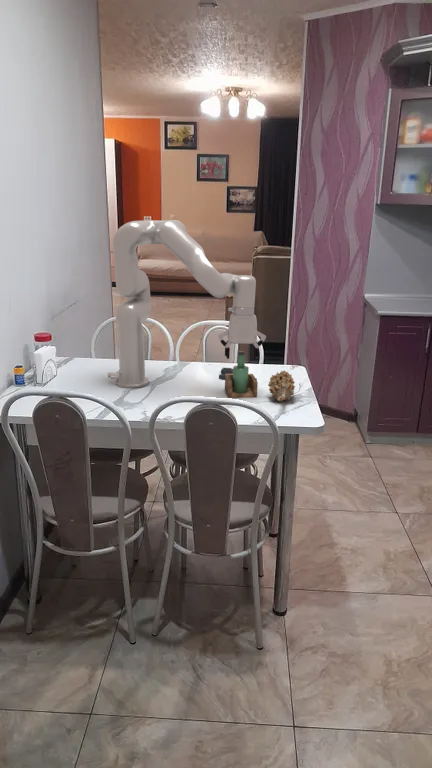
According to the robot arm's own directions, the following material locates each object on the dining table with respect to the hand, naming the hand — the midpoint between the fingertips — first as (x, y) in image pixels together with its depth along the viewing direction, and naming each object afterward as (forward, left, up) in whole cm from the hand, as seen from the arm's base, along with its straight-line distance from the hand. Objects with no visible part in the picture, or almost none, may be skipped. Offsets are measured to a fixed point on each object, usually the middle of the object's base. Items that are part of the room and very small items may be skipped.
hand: (240, 357), depth 199 cm
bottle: (0, 0, -13) cm, 13 cm away
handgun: (+3, +20, -14) cm, 25 cm away
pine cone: (+13, -11, -14) cm, 22 cm away
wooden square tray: (0, 0, -13) cm, 13 cm away
